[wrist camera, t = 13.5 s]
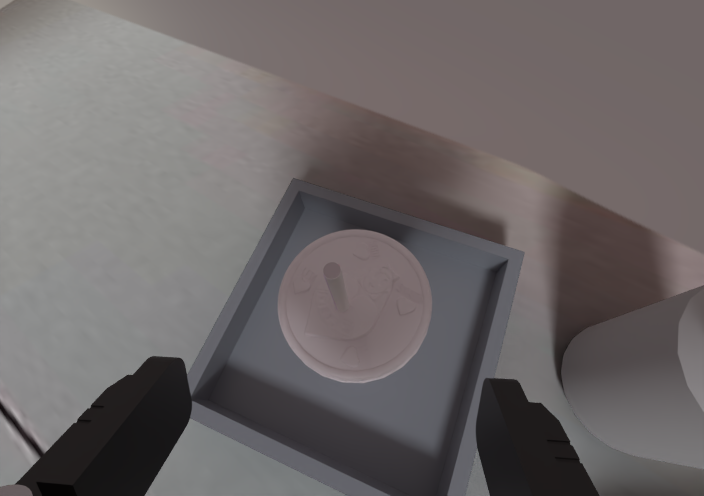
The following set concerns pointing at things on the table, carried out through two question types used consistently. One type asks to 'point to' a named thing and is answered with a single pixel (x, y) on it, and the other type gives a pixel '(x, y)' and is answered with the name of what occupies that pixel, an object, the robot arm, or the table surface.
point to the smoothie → (355, 305)
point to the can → (643, 380)
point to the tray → (371, 397)
